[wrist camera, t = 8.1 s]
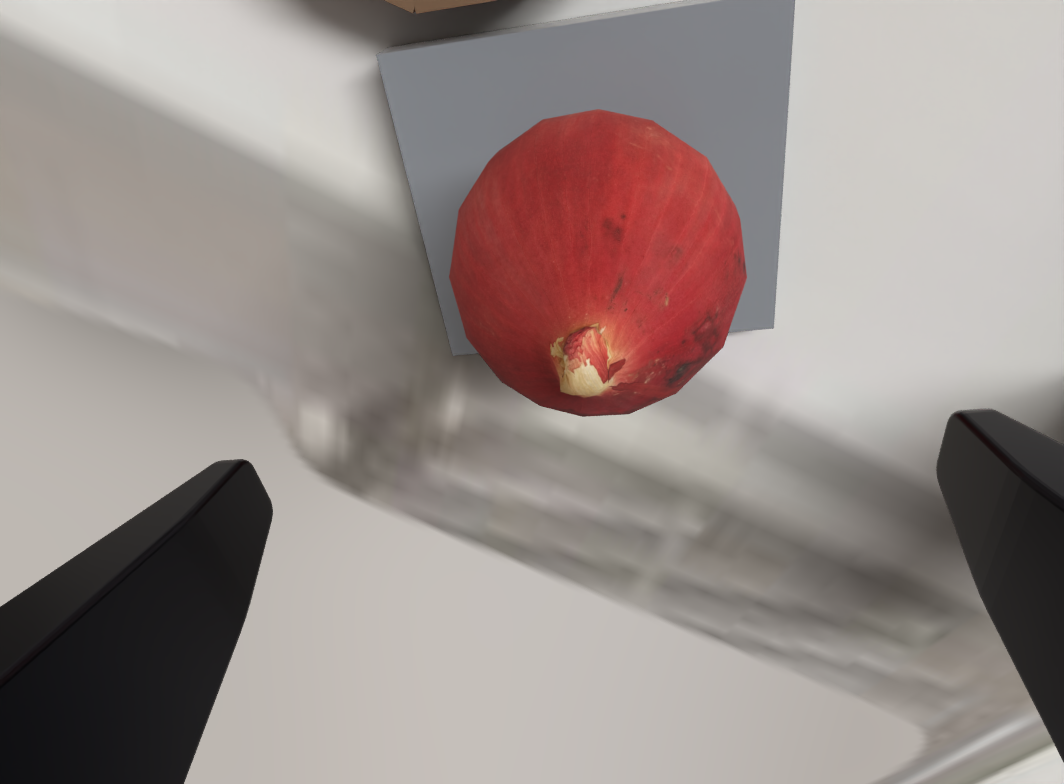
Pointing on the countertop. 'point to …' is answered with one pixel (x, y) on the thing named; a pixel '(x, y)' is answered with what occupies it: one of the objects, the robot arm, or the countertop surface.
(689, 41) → the slate tile
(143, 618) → the robot arm
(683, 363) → the onion
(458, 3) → the ring
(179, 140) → the countertop surface
